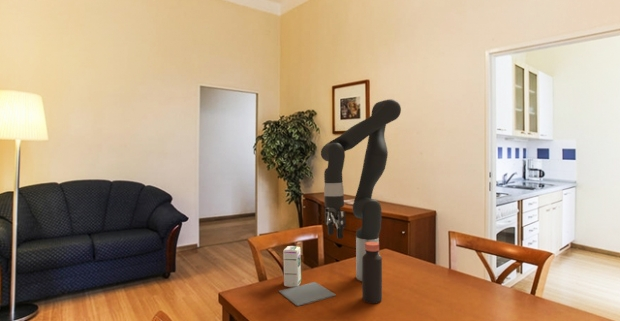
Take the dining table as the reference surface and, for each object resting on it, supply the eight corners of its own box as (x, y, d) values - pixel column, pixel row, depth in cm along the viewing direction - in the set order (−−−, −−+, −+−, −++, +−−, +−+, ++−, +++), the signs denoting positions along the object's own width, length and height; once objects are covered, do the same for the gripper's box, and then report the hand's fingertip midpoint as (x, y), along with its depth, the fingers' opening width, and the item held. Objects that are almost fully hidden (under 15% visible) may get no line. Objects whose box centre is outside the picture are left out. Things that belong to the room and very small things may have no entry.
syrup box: (298, 287, 130) (297, 250, 129) (283, 286, 131) (283, 249, 130) (301, 281, 135) (301, 246, 135) (287, 280, 136) (287, 245, 136)
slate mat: (314, 283, 134) (314, 281, 134) (335, 295, 122) (335, 294, 122) (278, 292, 125) (278, 290, 125) (297, 306, 113) (297, 305, 113)
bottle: (370, 305, 114) (370, 247, 114) (358, 297, 120) (358, 242, 120) (385, 301, 117) (385, 244, 117) (373, 294, 123) (373, 240, 123)
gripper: (351, 195, 125) (352, 239, 124) (335, 193, 138) (336, 232, 138) (332, 196, 122) (334, 241, 122) (318, 194, 135) (319, 234, 135)
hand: (335, 236), depth 130 cm, fingers open, 8 cm apart
